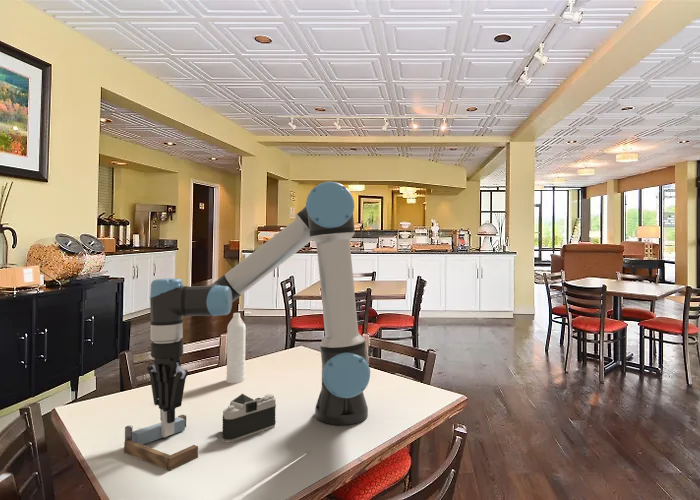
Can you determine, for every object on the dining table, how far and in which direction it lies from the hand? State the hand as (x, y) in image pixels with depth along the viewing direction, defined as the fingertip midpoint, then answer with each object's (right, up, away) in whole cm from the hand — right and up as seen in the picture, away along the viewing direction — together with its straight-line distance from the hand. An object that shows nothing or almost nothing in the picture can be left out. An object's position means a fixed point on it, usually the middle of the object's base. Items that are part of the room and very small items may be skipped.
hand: (167, 434), depth 112 cm
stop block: (+1, -1, +7) cm, 7 cm away
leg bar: (-2, -1, 0) cm, 2 cm away
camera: (+18, -2, +6) cm, 19 cm away
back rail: (0, -1, -12) cm, 12 cm away
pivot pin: (-7, -1, -6) cm, 9 cm away
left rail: (+8, -1, -13) cm, 15 cm away
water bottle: (+5, -2, +50) cm, 50 cm away
